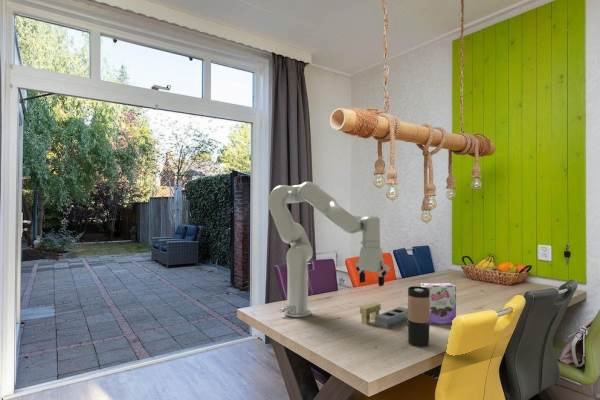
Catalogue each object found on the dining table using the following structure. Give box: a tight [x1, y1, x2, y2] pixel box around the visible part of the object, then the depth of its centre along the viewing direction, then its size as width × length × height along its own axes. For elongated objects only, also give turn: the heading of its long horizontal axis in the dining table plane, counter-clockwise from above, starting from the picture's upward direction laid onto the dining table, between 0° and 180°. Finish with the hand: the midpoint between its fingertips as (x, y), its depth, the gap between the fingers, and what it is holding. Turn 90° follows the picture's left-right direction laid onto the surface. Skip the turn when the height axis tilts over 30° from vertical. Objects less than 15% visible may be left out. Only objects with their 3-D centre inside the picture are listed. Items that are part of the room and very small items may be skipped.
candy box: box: [419, 282, 457, 325], centre depth 157 cm, size 14×6×16 cm, turn 94°
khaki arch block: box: [359, 302, 382, 325], centre depth 158 cm, size 11×3×6 cm, turn 135°
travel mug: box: [407, 285, 431, 348], centre depth 133 cm, size 8×8×20 cm
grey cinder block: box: [374, 306, 408, 330], centre depth 157 cm, size 20×6×4 cm, turn 135°
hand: (371, 284), depth 158 cm, fingers open, 9 cm apart
